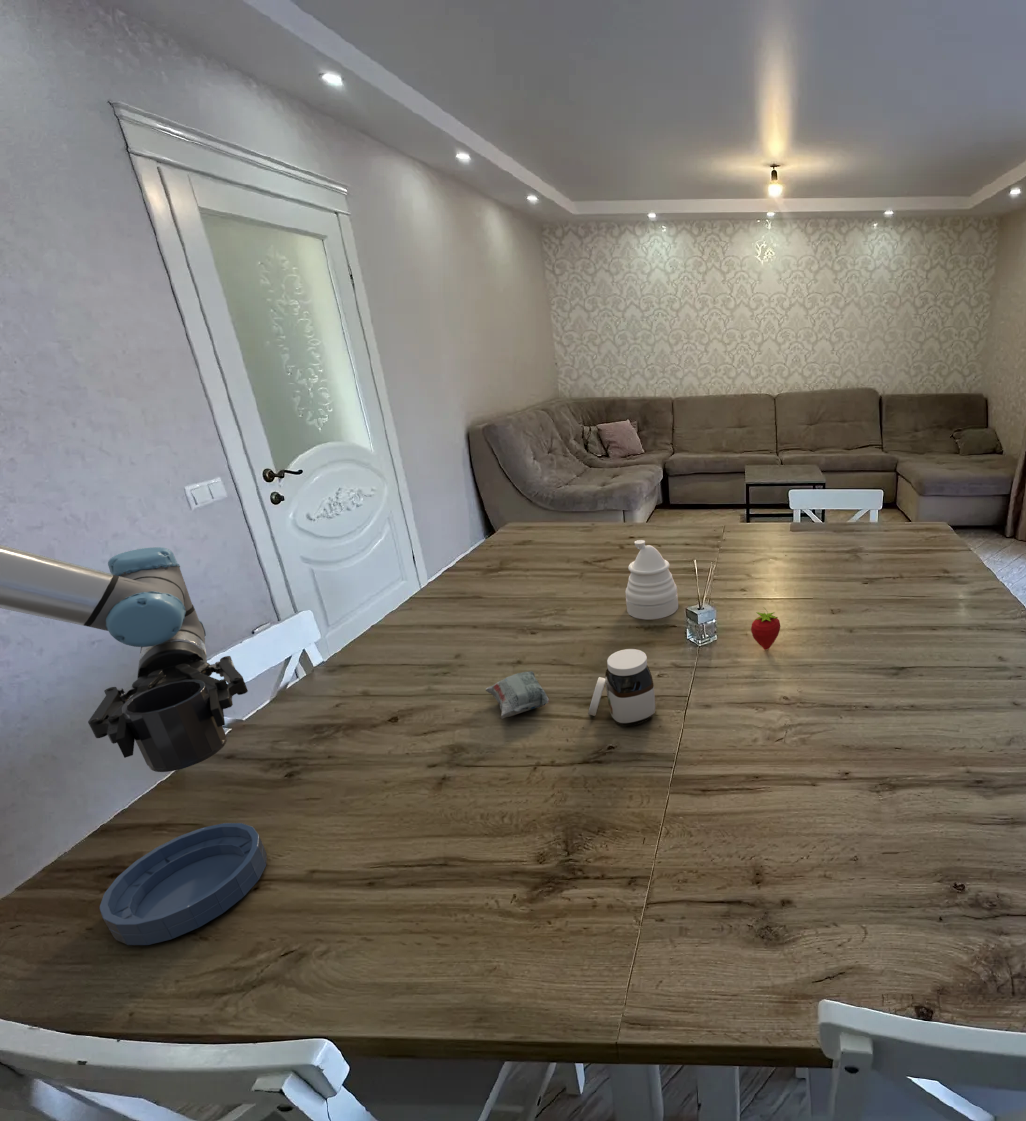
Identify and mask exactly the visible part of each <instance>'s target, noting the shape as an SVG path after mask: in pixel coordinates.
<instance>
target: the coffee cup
mask: <svg viewBox="0 0 1026 1121" xmlns="http://www.w3.org/2000/svg"><path fill="white" fill-rule="evenodd" d="M130 698H131V697H130ZM130 698H129V699H130ZM122 713H123V715H124V718H125V720H126V722H127V724H128V726H129V728H130V730H131V732H132V734H133V736H134V739H135V743H136V745H137V747H138V750H139V751H140V753H141V755H142V757H143V759H144V761H145V764H146V766H148V768H149V769H150V770H151V771H152V772H156V773H169V772H174V771H179V770H183V769H186V768H189V767H192V766H194V765H197V764H199V763H202V762H204V761H206V760H207V759H209V758H211V757H213V756H214V755H215V754H217V753H218V752H220V751H221V750H222V749H223V748H224V746H225V745H226V744H227V742H228V737H227V734H226V732H225V729H224V725H223V726H220V727H217V724H216V722H215V719H214V717H213V715H212V712H211V708H210V696H209V692H208V690H207V687H206V685H205V682H203V681H200V680H181V681H175V682H170V683H167V684H164V685H160V686H157V687H154V688H151V689H149V690H147V691H144V692H142V693H140V694H138V695H137V696H135V697H133V698H131V699H130V700H128V701H127V702H126V703H125V704H124V705H123V706H122Z"/></svg>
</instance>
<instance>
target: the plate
mask: <svg viewBox="0 0 1026 1121" xmlns="http://www.w3.org/2000/svg"><path fill="white" fill-rule="evenodd" d="M267 856H268V853H267V851H266V849H265V846H264V844H263V841H262V838H261V837H260V834H259V832H257V830H256V829H255V828H254V826H251V825H249V824H246V823H243V822H223V823H218V824H213V825H208V826H204V827H201V828H197V829H195V830H192V831H190V832H187V833H184V834H181V835H179V836H176V837H174V838H173V839H170V840H169V841H167V842H164V843H163V844H160V845H158V846H156V847H155V848H153V849H152V850H151V851H148V853H146V854H144V855H143V856H141V857H139V858H138V859H136V860H135V861H134V862H132V864H130V865H129V866H128V867H127V868H126V869H124V870H123V871H122V872H121V873H120V874H119V875H117V877H116V878H115V879H114V880H113V882H112V883H111V884H110V886H108V888H107V889H106V891H105V892H104V893H103V895H102V898H101V902H100V904H99V912H100V914H101V917H102V919H103V921H104V923H105V924H106V927H107V928H108V930H109V931H110V933H111V936H112V937H113V938H114V940H116V941H118V942H120V943H122V944H124V945H126V946H150V945H154V944H158V943H159V944H160V943H163V942H167V941H171V940H174V939H175V938H178V937H181V936H182V935H185V934H188V933H190V932H192V931H195V930H197V929H199V928H201V927H203V926H204V925H206V924H207V923H210V922H211V921H213V920H214V919H216V918H218V917H220V916H221V915H223V914H224V913H226V912H227V911H228V910H230V909H231V908H232V907H233V906H234V905H236V904H237V903H238V902H239V901H240V900H242V899H243V898H244V897H245V896H246V895H248V893H249V892H250V890H252V888H253V887H255V885H256V884H257V883H258V882H259V880H260V879H261V877H262V874H263V873H264V871H265V869H266V867H267V861H268V860H267Z"/></svg>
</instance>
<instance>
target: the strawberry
mask: <svg viewBox="0 0 1026 1121" xmlns="http://www.w3.org/2000/svg"><path fill="white" fill-rule="evenodd" d="M764 610H765V611H766V612H767V613H766V612H758V611H756V612H755V613H756V614H757V615H758V617H756V618H755V619H754V620H753V621H752V623H751V626H750V631H751V634H752V638H753V639H754V640H755V642H756V643H757V644H758V645H759V646H760V647H761V648H762V649H763V650H765V651H768V650H769V649H770V648H771V646H773V644H774V643H775V641H776V639H777V638H778V636H779V634H780V631H781V627H782V626H781V621H780V619H778V618H779V617H778V616H776V615H775V613H776V612H775V611H773V612H769V611H768V610H767V609H766V608H764Z"/></svg>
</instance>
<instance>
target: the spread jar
mask: <svg viewBox="0 0 1026 1121" xmlns="http://www.w3.org/2000/svg"><path fill="white" fill-rule="evenodd" d="M606 664H607V668H606V669H605V674H604V677H601V676H599V677H598V678H597V681H596V684H595V687H594V689H593V690H594V691H593V694H592V697H591V701H590V704H589V707H588V712H587V715H590V716H594V717H596V715H597V712H598V709H599V706H600V702H601V699H602V696H603V692H604V688H606V690H605V691H606V698H607V704H608V705H607V706H608V709H609V710H608V711H609V713H610V716H611V719H612V720H613V721H614V722H615V723H616V724H617V725H620V726H626V727H632V726H637V725H640V724H643V723H644V722H647V721H648V720H649V719H650V718H652V717H653V716H654V715H655V713H656V696H655V694H656V693H655V684H654V680H653V675H652V672H651V669H650V667H649V666H648V657H647V654H646V653H645V652H644V651H643V650H640V649H635V648H626V649H621V650H618V651H614V652H613V653H612V654H610V655H609V656H608V657H607V659H606Z"/></svg>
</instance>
